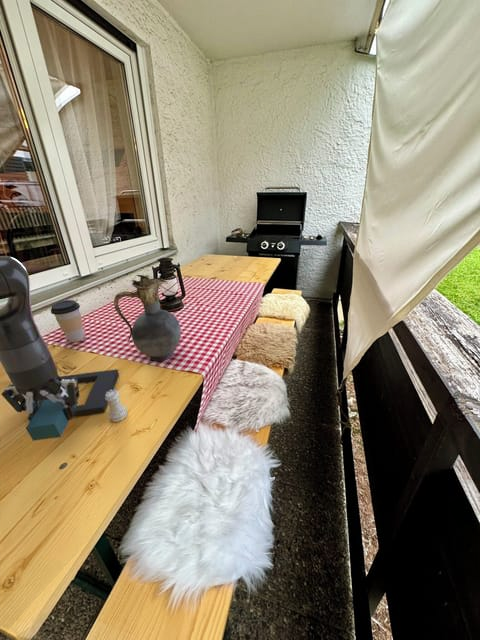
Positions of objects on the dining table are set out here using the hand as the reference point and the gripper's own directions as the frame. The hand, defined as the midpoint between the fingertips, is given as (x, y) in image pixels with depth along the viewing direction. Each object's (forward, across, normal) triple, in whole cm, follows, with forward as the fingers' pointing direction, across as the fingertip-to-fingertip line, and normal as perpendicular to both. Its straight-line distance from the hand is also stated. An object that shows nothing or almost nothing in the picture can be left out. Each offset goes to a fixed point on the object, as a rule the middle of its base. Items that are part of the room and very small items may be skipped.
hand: (56, 418), depth 59 cm
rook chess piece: (+6, -11, -4) cm, 14 cm away
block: (+1, 0, 0) cm, 1 cm away
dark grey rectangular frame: (+6, +2, -14) cm, 15 cm away
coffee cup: (+7, +15, -49) cm, 52 cm away
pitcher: (+6, -18, -30) cm, 36 cm away
